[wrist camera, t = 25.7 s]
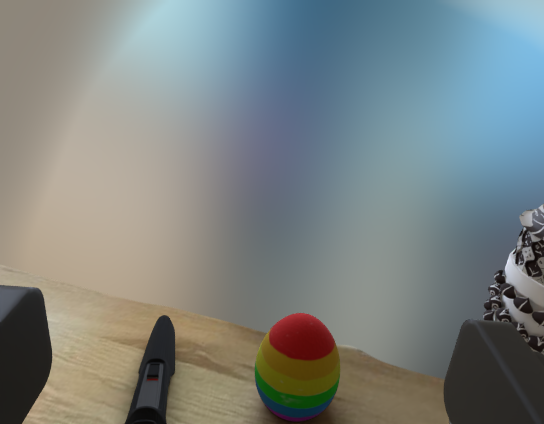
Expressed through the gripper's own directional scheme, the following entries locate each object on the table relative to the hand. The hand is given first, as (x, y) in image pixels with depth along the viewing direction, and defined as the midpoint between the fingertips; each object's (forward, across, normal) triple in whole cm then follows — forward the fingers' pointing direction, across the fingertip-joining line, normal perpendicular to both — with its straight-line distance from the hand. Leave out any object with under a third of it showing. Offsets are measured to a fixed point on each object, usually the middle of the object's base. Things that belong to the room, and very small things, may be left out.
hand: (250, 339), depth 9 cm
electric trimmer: (+27, +9, +30) cm, 42 cm away
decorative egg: (+27, -5, +30) cm, 41 cm away
